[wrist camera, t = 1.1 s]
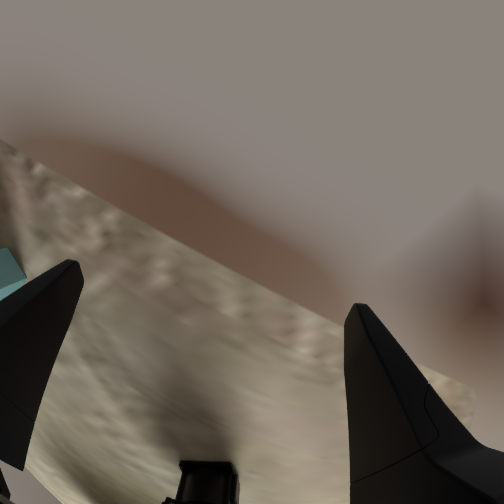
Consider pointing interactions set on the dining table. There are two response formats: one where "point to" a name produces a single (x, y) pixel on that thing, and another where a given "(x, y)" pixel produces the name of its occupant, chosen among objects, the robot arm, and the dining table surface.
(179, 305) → the dining table surface
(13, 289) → the tall block
